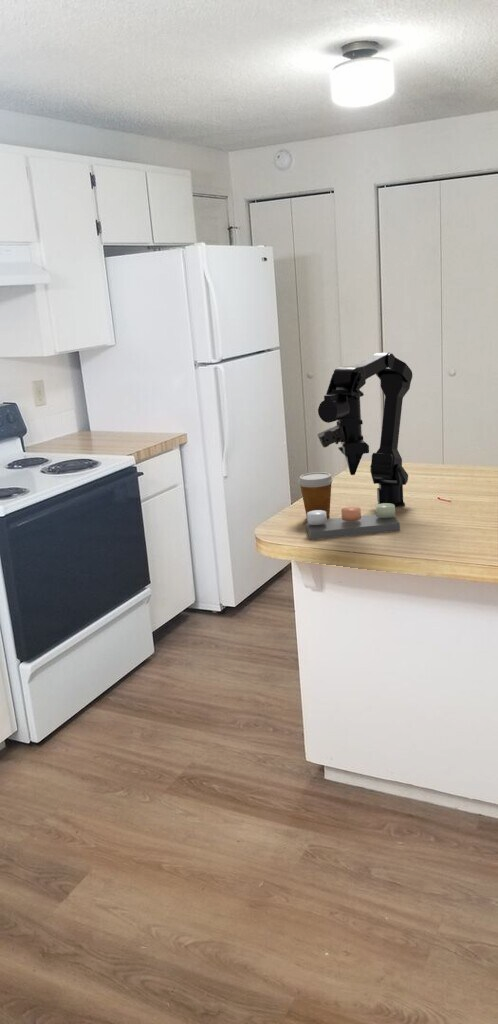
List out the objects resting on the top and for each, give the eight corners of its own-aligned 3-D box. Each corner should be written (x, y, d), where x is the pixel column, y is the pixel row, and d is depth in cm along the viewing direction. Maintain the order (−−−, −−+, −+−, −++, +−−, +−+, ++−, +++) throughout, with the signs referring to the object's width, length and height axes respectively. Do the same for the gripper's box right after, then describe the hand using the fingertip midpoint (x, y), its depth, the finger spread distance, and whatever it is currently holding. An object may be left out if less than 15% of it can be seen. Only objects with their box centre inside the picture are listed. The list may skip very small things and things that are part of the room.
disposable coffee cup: (325, 523, 223) (322, 481, 220) (294, 521, 228) (291, 479, 225) (341, 514, 231) (338, 472, 228) (311, 511, 236) (308, 471, 233)
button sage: (392, 511, 218) (392, 502, 218) (397, 516, 213) (396, 507, 213) (374, 513, 218) (373, 504, 217) (378, 518, 213) (377, 509, 213)
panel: (391, 519, 222) (390, 512, 221) (399, 530, 212) (399, 523, 211) (306, 528, 221) (305, 521, 220) (311, 539, 211) (310, 532, 211)
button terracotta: (359, 514, 218) (358, 505, 217) (362, 520, 213) (362, 510, 213) (340, 516, 218) (339, 507, 217) (343, 522, 213) (343, 512, 212)
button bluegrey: (325, 518, 218) (324, 509, 217) (328, 523, 213) (327, 514, 212) (306, 520, 218) (305, 511, 217) (309, 525, 213) (308, 516, 212)
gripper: (314, 413, 223) (317, 470, 227) (323, 424, 205) (327, 485, 209) (355, 410, 223) (357, 466, 227) (368, 420, 205) (370, 481, 209)
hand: (352, 474), depth 218 cm, fingers closed
